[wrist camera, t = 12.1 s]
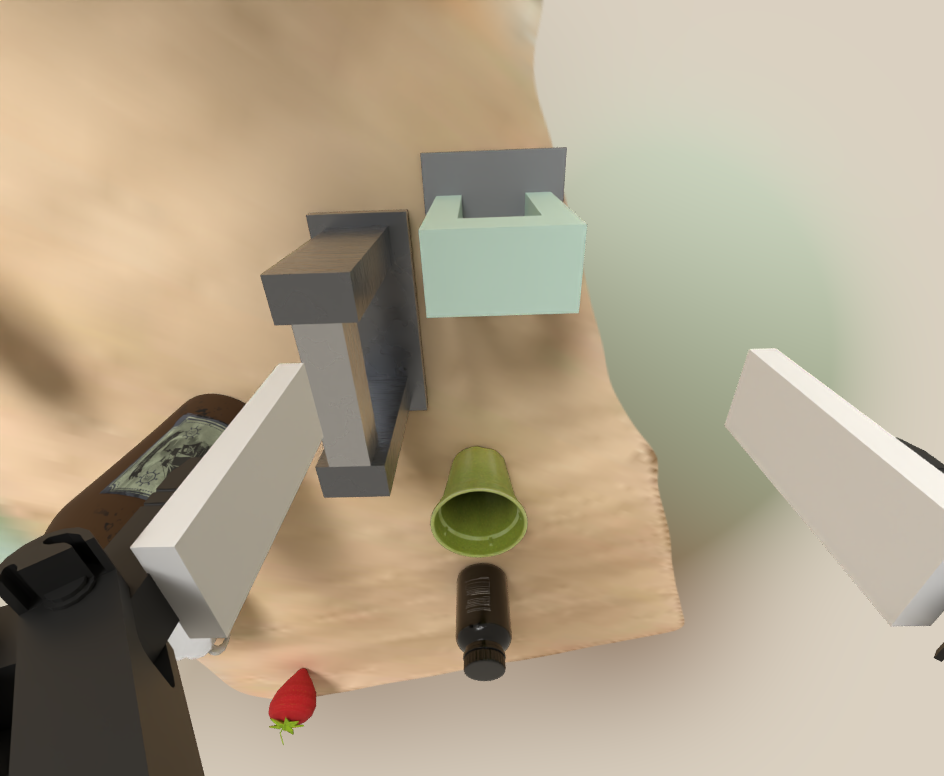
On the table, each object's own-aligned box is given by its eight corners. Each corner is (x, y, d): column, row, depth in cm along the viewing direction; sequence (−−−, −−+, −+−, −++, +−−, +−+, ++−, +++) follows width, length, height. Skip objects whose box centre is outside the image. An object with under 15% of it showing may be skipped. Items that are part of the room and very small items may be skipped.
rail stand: (310, 213, 36) (227, 257, 24) (407, 209, 36) (373, 252, 24) (351, 406, 46) (307, 507, 34) (427, 404, 46) (411, 505, 34)
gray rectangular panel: (421, 153, 34) (420, 153, 33) (565, 147, 33) (566, 147, 33) (432, 292, 39) (432, 294, 39) (556, 288, 39) (557, 290, 39)
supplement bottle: (450, 586, 61) (445, 679, 51) (467, 556, 58) (466, 649, 48) (495, 597, 62) (500, 690, 52) (515, 568, 59) (524, 662, 49)
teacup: (126, 568, 59) (80, 626, 53) (187, 535, 56) (147, 592, 49) (213, 623, 66) (183, 681, 59) (273, 596, 63) (248, 654, 56)
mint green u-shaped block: (436, 195, 35) (418, 230, 24) (550, 191, 34) (587, 224, 23) (440, 259, 37) (426, 317, 26) (547, 256, 37) (578, 313, 26)
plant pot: (420, 457, 49) (410, 516, 42) (490, 418, 46) (493, 474, 39) (467, 507, 53) (466, 569, 46) (535, 474, 50) (545, 534, 43)
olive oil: (249, 481, 51) (88, 739, 30) (158, 434, 48) (-99, 688, 26) (293, 424, 47) (141, 677, 26) (196, 368, 43) (-73, 606, 22)
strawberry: (333, 673, 73) (314, 745, 65) (295, 682, 75) (272, 754, 66) (313, 655, 70) (291, 729, 62) (274, 665, 72) (247, 738, 63)
